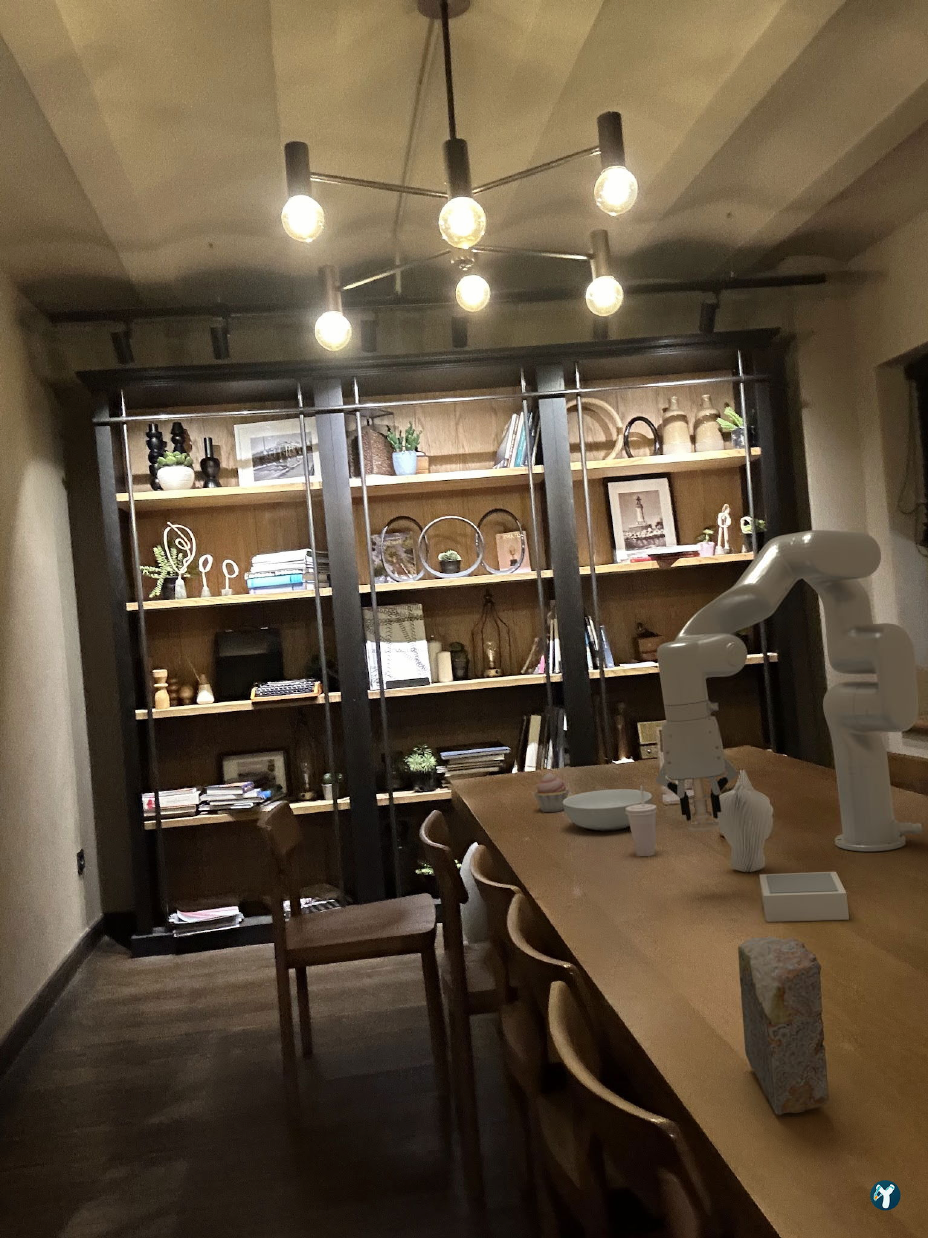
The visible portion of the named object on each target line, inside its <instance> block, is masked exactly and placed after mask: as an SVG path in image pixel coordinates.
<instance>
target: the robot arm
mask: <svg viewBox="0 0 928 1238" xmlns="http://www.w3.org/2000/svg"><path fill="white" fill-rule="evenodd" d="M881 561H882V551H881V547H880V545H879V543H878V541H877V540H876V538H874V537H873V536H872V535H870V534H868V533H866V532H861V531H849V530H848V531H845V530H826V529H825V530H824V529H819V530H818V529H815V530H805V531H800V532H794V533H788V534H783V535H778V536H776V537H773V538H771V539H770V540H768V541H767V542H766V543H765V544H764V546H762V548H761V550H760V551H759V552H758V553H757V555H756V556H755V557H754V558H753V560H752V561H751V562H750V564H749V565H748V567H747V568H746V569H745V571H743V574H742V575H741V576H740V577H739V579H738V580H737V581H736V583H734V584H733V586H732V587H730V588H729V589H727V590H726V591H725V592H723V593H722V594H720V595H719V596H717V597H715V599H712V601H710V602H709V603H707V604H706V605H705V606H704V607H702V608H701V609H699V610H698V611H697V612H696V613H695V614H694V615H693V616H692V617H690V618H689V620H687V622H686V623H685V625H684V626H683V627H682V629H681V630H680V631H679V633H678V634H677V636H675V638H674V640H673V641H669V642H665V643H661V644H660V645H659V646H658V648H657V650H656V655H657V664H658V671H659V678H660V679H659V680H660V684H661V692H662V700H663V707H664V713H665V721H663V722H662V727H661V737H662V738H661V740H662V754H663V755H662V756H663V764H662V765H661V767H660V769H659V772H658V774H657V776H656V778H655V782H656V783H657V784H658V785H660V786H662V787H664V788H667V789H668V790H669V791H671V792H672V793H674V794H675V795H676V796H677V798H678V799H679V804H680V810H681V815H682V816H685V818H686V819H685V820H686V822H688V821H689V822H690V821H691V819H692V813H691V807H690V806H691V805H690V799H688V797H689V795H688V793H687V791H686V790H685V789H686V781H687V780H692V779H700V778H701V779H708V782H709V785H710V788H711V789H710V794H709V795H710V796H711V797H710V802H711V808H712V809H711V810H712V811H711V812H712V816H713V819H715V820H716V818H718V814H717V812H721V805H720V798H719V796H720V795H721V794H720V793H721V792H722V791H723V790H724V788H725V787H726V785H728V783H730V782H731V781H732V780H734V778H735V779H736V777H738V776H739V772H738V770H737V769H736V767H734V764H732V763H731V762H730V761H729V760H728V758H727V757H726V755H725V751H724V746H723V741H722V736H721V731H720V727H719V724H718V721H717V719H716V716H712V715H711V714H712V713H713V712H715V711H719V704H718V702H713V701H712V702H711V701H710V700H709V696H708V695H709V694H708V687H707V680H706V679H707V678H713V677H714V678H715V677H716V678H717V677H719V678H722V677H723V678H724V677H731V676H733V675H735V674H738V673H739V672H740V671H741V670H742V669H743V668H744V667H745V666H746V665H745V664H747V659H748V650H747V647H746V644H745V643H744V641H743V640H742V639H741V638H739V637H738V636H736V635H734V634H733V633H735V632H737V631H740V630H742V629H746V628H748V627H750V626H753V625H755V624H758V623H760V622H761V621H763V620H766V619H768V618H769V617H771V616H772V615H773V614H774V612H775V611H776V610H777V608H778V607H779V605H780V604H781V603H782V601H783V600H784V598H785V597H786V596H787V595H788V593H789V592H790V590H791V589H792V588H793V586H794V585H795V584H796V582H798V581H799V580H801V579H803V580H804V582H806V583H807V584H808V585H810V587H811V588H812V589H813V590H815V592H816V593H817V595H818V596H819V599H820V601H821V603H822V606H823V613H824V623H825V637H826V648H827V649H826V650H827V657H828V663H829V665H830V667H831V668H832V669H833V670H834V671H835V672H837V673H840V674H844V675H876V679H877V681H872V680H857V681H853V680H852V681H844V682H839V683H836V684H834V685H833V686H831V687H829V689H827V691H826V693H825V694H824V697H823V700H822V701H823V702H822V707H823V713H824V717H825V720H826V724H827V727H828V729H829V734H830V738H831V742H832V749H833V756H834V764H835V773H836V783H837V784H836V785H837V790H838V791H837V792H838V800H839V810H840V819H841V829H842V833H841V834H839V835H837V836H836V837H835V838H834V842H835V845H836V847H838V848H841V849H844V850H849V851H853V852H855V851H856V852H884V851H892V850H895V849H896V850H897V849H899V848H902V847H904V846H905V845H906V836H905V835H907V834H912V835H916V834H918V835H920V834H921V835H922V834H923V832H924V831H923V825H922V823H921V822H916V823H913V822H912V821H910V822H909V821H908V822H907V821H906V822H899V821H898V820H897V819H896V817H895V815H894V808H893V807H894V805H893V798H892V797H893V795H892V787H891V780H890V779H891V778H890V769H889V761H888V753H887V748H886V747H885V744H884V743H883V740H882V739H881V737H880V735H879V733H903V732H906V731H909V730H910V729H911V728H912V727H913V726H914V725H915V723H916V722H917V718H918V715H919V714H918V713H919V691H918V682H917V681H918V680H917V665H916V655H915V649H914V644H913V642H912V639H911V637H910V635H909V634H908V632H907V631H906V630H905V629H904V628H903V627H902V626H900V625H898V624H895V623H887V622H886V623H885V622H884V623H874V622H873V615H872V608H871V607H872V606H871V601H870V599H871V598H870V596H869V594H868V592H867V590H866V588H865V587H864V586H863V584H862V583H861V581H859V580H858V579H865V578H868V577H869V576H871V575H873V574H874V573H875V572H876V571H877V570H878V568H879V566H880V565H881ZM717 777H720V778H719V779H717ZM674 781H677V783H676V782H674Z"/></svg>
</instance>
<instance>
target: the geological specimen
mask: <svg viewBox="0 0 928 1238" xmlns="http://www.w3.org/2000/svg"><path fill="white" fill-rule="evenodd" d="M737 949H738V950H737V954H738V969H739V970H738V971H739V982H740V983H739V984H740V999H741V1000H740V1001H741V1008H742V1009H741V1011H742V1023H743V1040H744V1053H745V1056H746V1058H747V1061H748V1063H749V1065H750V1068H751V1069H752V1070H753V1071H754V1074H755V1075H756V1077H757V1079H758V1081H759V1084H760V1085H761V1088H762V1091H763V1093H764V1094H765V1095H766V1096H767V1097H766V1098H767V1099H768V1102H769V1103H770V1105H771V1107H772V1108H773V1111H774V1113H775V1115H781V1116H782V1115H784V1114H787V1113H792V1114H799V1113H802V1112H805V1111H807V1110H811V1109H817V1108H819V1107H823V1106H825V1105H828V1103H829V1101H830V1099H829V1098H830V1096H829V1084H828V1083H829V1082H828V1074H827V1072H828V1067H827V1066H828V1065H827V1059H826V1046H825V1045H824V1041H825V1032H824V1027H825V1026H824V1022H823V1018H822V1017H823V1016H822V1015H823V1014H822V1013H823V1003H822V1001H823V999H822V997H823V996H822V982H821V981H822V980H821V971H822V966H821V964H820V962H819V959H818V958H817V956H816V955H815V953H813V952H812V951H811V950H809V949H807V948H806V945H805V943H804V942H803V941H799V940H798V939H796V938H795V937H792V936H791V937H789V938H786V939H784V938H778V937H775V936H766V937H752V938H751V937H750V938H749V939H747V940H745V941H744V942H742V943H741V944H740V945H738V946H737Z"/></svg>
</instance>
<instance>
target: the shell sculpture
mask: <svg viewBox="0 0 928 1238" xmlns="http://www.w3.org/2000/svg"><path fill="white" fill-rule="evenodd" d="M739 771H740V772H739V773H740V774H739V775H738V778H737V781H735V785H734V786H733V788H732V789H731V790H730V791H729V790H728V791H725V792H724V793H722V794H719V798H720V805H721V812H717V814H718V818H716V819H715V820H716V822H718V823H719V827H718V829H719V831H720V832H721V834H722V835H723V836H724V838H725V840H726V841H727V843H728V844H729V846H731V854H730V867H732V868H733V869H734V870H735V871H736V870H737V871H740V872H745V873H749V872H750V873H753V872H755V871H760V870H761V869H763V868H765V866H766V859H765V858H766V857H765V852H764V846H765V843H766V841H765V840H766V839H769V837H770V835H771V832H772V829H773V826H774V818H773V816H772V815H773V814H774V808H773V806H772V805H771V804H770V803H771V802H770V800H771V799H770V798H769V797H768V796H767V795H765V794H764V793H762V792H760V791H758V790H755V789H754V786H752V783H751V781H750V779H749V777H748V774H747V772H746V770H745V769H743V770H742V769H740V770H739ZM746 871H747V872H746Z"/></svg>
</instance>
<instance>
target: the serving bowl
mask: <svg viewBox="0 0 928 1238" xmlns="http://www.w3.org/2000/svg"><path fill="white" fill-rule="evenodd" d="M643 793H644V802H645V804H651V805H653V804H652V802H653V795H652V794H651V793H650V792H648V791H645V790H643ZM639 804H642V800H641V791H640V790H639V789H632V788H631V789H630V788H629V789H625V788H623V789H620V788H619V789H617V788H616V789H615V788H614V789H603V790H593V791H588V792H587V791H586V792H581V793H578V794H574V795H571V796H567V798H566V799H564V801H563V806H564V810H563V811H564V812H565V814H566V816H567V817H568V819H569V820H570V821H571V822H572V823H574V824H575V825H576V826H579V827H582V828H584V829H590V830H594V831H598V830H601V831H602V832H608V831H607V830H612V831H618V830H623V829H627V828H628V827H630V823H629V819H628V814H626V808H627V807H629V806H632V805H639ZM605 830H606V831H605ZM601 831H600V832H601Z"/></svg>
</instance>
